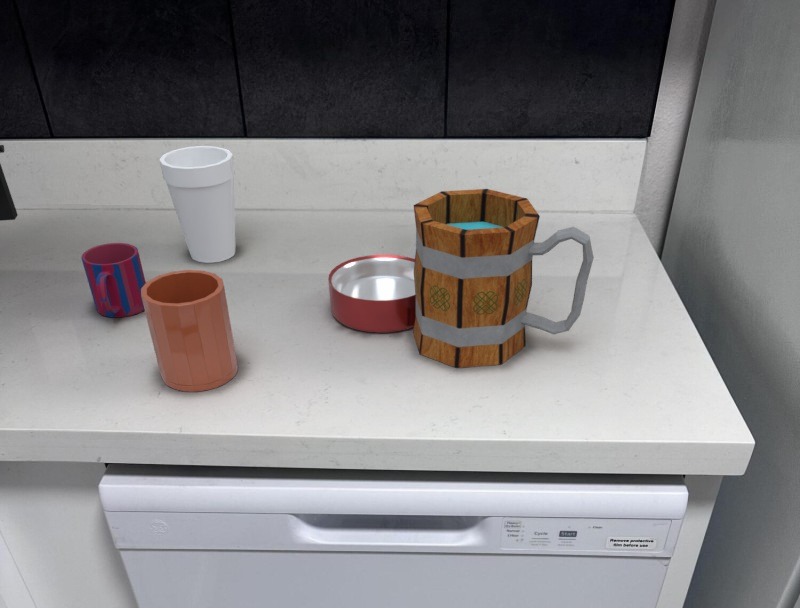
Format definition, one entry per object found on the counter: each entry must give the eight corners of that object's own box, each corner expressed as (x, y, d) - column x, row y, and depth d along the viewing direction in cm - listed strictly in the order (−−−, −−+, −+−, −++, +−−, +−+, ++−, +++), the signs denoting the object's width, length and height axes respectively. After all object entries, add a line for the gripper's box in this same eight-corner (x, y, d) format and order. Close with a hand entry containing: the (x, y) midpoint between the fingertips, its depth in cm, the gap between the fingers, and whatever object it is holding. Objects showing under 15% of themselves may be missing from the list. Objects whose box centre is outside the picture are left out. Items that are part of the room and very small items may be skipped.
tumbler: (145, 379, 87) (123, 294, 80) (196, 346, 93) (179, 264, 86) (204, 399, 84) (185, 312, 77) (252, 364, 89) (239, 280, 83)
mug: (398, 360, 90) (396, 228, 79) (426, 307, 99) (427, 184, 89) (572, 382, 86) (594, 247, 76) (583, 325, 95) (604, 198, 85)
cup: (157, 294, 103) (145, 243, 98) (132, 331, 95) (118, 277, 91) (107, 293, 103) (92, 242, 99) (78, 330, 96) (62, 276, 91)
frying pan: (392, 229, 118) (391, 185, 114) (476, 238, 116) (479, 193, 111) (315, 327, 96) (311, 276, 91) (418, 341, 93) (419, 289, 89)
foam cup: (189, 240, 116) (170, 145, 107) (251, 240, 116) (237, 145, 107) (172, 267, 109) (151, 168, 100) (238, 267, 109) (223, 168, 100)
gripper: (-65, -28, 70) (25, 237, 86) (-25, -45, 79) (49, 196, 95) (-154, -24, 69) (-47, 242, 85) (-103, -42, 79) (-16, 200, 95)
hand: (4, 217), depth 90 cm, fingers closed
